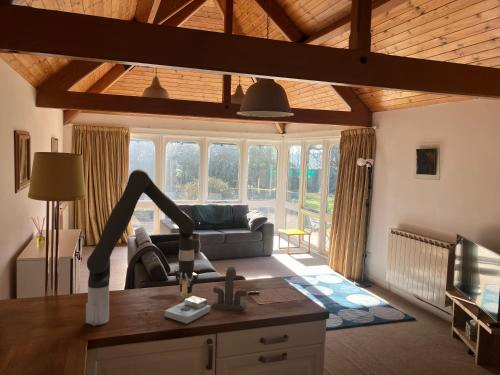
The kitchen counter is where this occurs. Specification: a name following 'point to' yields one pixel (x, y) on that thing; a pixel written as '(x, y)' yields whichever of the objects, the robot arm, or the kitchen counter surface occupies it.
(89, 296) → the robot arm
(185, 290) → the cylinder
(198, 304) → the shunt plate
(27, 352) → the kitchen counter surface
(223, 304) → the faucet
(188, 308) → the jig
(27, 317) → the kitchen counter surface
